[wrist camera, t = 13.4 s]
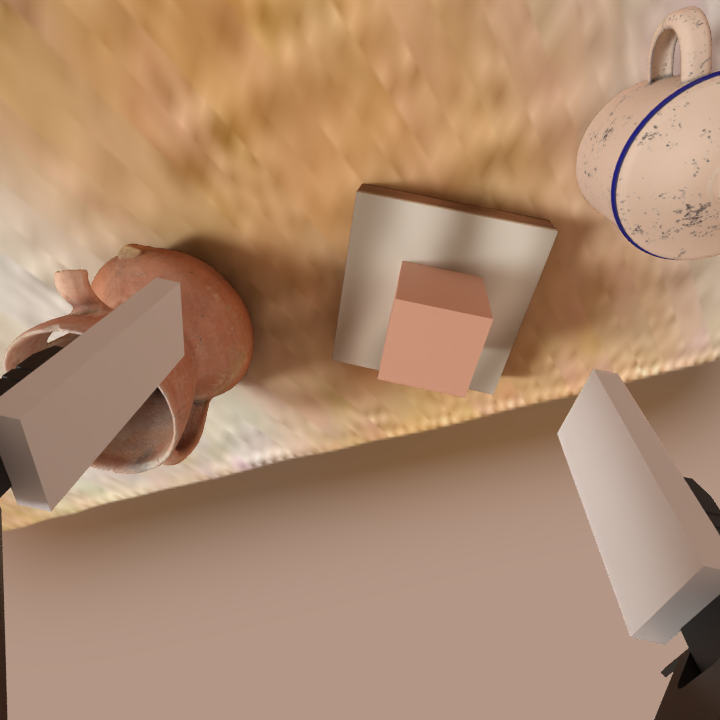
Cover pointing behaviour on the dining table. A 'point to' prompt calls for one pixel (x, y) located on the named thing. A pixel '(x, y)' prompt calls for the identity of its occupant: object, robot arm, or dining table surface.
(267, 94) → the dining table surface
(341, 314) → the plinth
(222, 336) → the ceramic jug
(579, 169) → the teacup with lid
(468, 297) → the block
